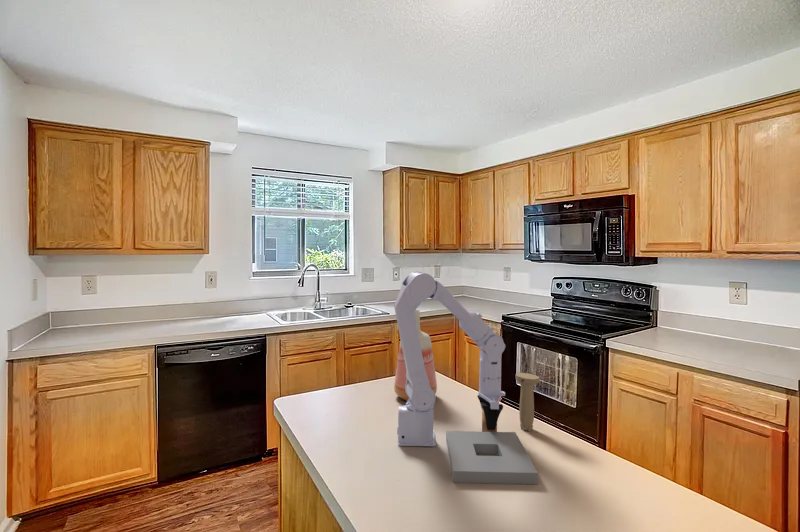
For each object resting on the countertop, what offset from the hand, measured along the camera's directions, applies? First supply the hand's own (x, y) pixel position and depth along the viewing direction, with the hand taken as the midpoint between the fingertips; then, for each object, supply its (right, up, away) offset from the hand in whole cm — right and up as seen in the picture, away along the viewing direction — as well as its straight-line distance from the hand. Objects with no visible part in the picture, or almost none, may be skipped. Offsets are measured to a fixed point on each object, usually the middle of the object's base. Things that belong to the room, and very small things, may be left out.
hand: (489, 425), depth 113 cm
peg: (0, -2, 0) cm, 2 cm away
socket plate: (-3, -3, -14) cm, 15 cm away
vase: (-19, -2, +29) cm, 35 cm away
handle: (+11, -3, +4) cm, 12 cm away
